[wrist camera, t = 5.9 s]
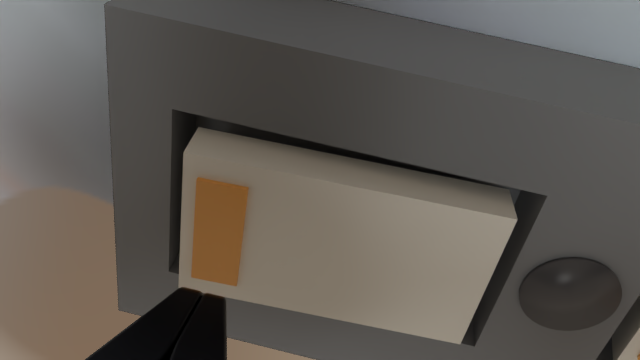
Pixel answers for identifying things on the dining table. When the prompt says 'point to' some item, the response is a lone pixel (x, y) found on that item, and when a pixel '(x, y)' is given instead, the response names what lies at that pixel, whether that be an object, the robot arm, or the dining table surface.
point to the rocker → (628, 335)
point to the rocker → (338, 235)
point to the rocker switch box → (387, 157)
